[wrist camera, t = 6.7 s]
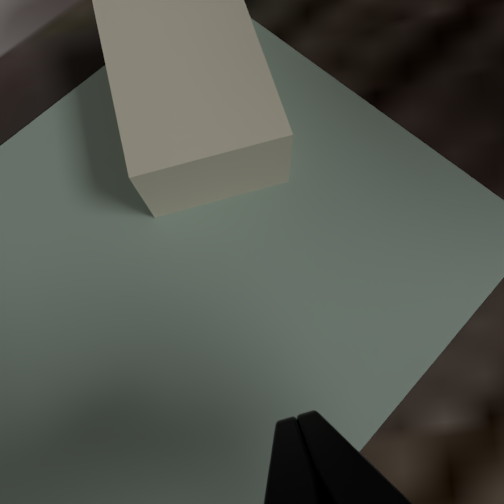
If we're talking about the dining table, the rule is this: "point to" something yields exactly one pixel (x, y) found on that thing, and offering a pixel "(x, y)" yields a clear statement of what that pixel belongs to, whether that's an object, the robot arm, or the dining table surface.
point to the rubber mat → (222, 297)
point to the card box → (192, 101)
